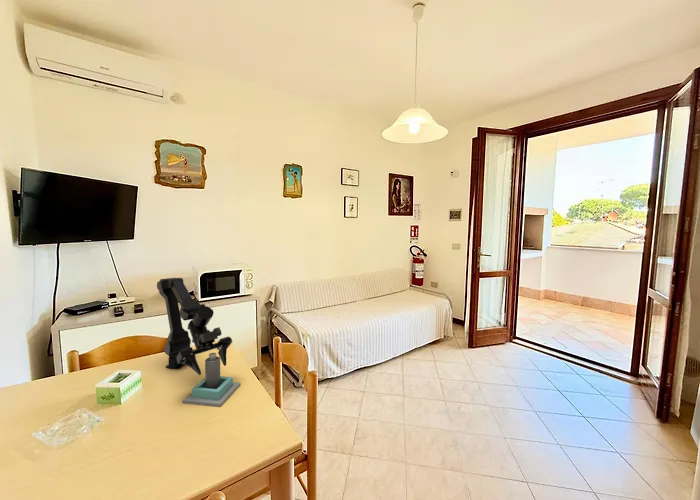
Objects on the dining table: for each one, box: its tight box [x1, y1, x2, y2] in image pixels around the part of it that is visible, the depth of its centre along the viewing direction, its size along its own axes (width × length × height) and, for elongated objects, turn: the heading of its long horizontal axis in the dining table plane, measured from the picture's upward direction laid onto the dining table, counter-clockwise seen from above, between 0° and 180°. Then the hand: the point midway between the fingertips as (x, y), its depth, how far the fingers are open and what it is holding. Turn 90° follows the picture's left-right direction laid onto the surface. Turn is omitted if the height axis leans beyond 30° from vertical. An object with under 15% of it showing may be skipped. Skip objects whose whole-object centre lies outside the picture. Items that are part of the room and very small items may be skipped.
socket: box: [182, 375, 241, 408], centre depth 108 cm, size 14×14×4 cm
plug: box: [204, 352, 221, 389], centre depth 107 cm, size 5×5×14 cm
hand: (213, 369), depth 107 cm, fingers open, 9 cm apart
